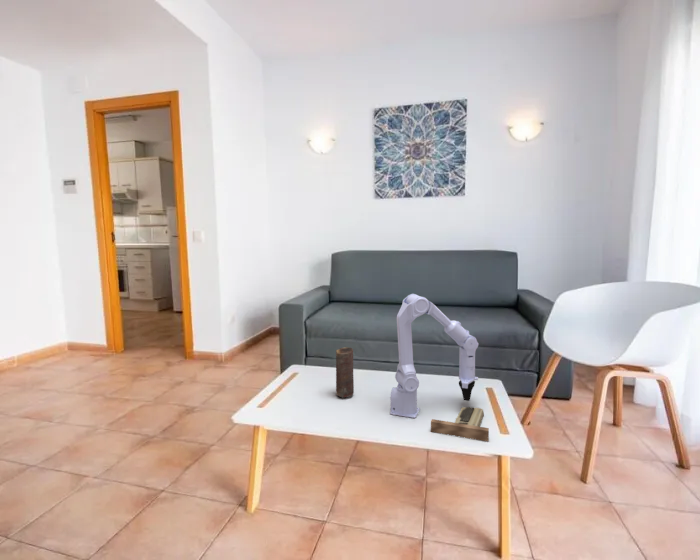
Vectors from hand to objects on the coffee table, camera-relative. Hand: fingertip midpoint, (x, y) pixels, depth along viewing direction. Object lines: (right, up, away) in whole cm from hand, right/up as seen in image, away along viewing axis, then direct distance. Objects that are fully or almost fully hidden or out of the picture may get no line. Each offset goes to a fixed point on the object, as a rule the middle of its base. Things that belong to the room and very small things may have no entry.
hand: (466, 399), depth 143 cm
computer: (-3, -5, -13) cm, 14 cm away
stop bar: (-9, -5, -21) cm, 23 cm away
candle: (-47, -3, +13) cm, 48 cm away
